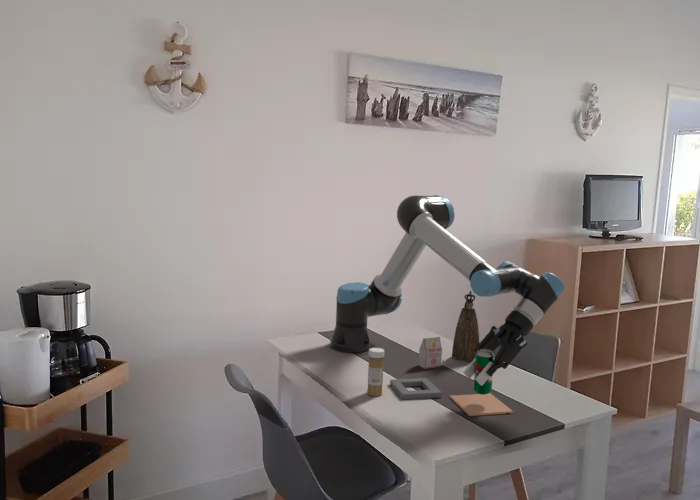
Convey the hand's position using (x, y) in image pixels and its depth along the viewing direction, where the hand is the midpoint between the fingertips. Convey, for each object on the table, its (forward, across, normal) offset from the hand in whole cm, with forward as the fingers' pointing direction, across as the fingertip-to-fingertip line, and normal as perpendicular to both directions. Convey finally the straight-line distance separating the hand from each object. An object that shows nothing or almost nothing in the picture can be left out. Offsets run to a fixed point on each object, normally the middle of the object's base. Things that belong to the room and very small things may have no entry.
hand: (472, 378), depth 160 cm
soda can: (+1, 0, -6) cm, 6 cm away
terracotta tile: (+3, 0, -8) cm, 9 cm away
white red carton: (+1, +34, -11) cm, 36 cm away
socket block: (+12, +16, 0) cm, 20 cm away
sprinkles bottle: (+21, +17, +10) cm, 29 cm away
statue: (-11, +37, -23) cm, 45 cm away
